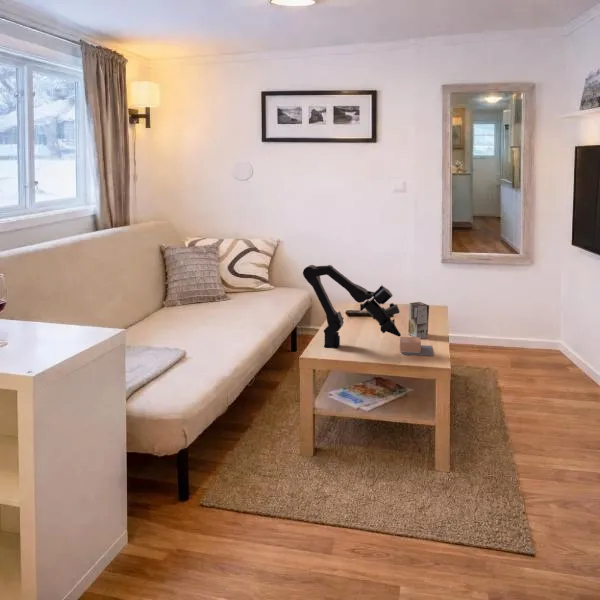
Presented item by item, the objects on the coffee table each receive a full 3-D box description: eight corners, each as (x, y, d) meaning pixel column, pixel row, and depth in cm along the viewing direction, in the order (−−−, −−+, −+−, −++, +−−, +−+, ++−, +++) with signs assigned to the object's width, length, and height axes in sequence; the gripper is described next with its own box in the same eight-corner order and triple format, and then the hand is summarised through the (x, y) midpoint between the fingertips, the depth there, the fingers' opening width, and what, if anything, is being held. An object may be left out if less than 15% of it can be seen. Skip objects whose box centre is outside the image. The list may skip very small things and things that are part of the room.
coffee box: (428, 338, 314) (429, 305, 311) (416, 339, 312) (417, 306, 309) (419, 333, 322) (420, 301, 319) (407, 334, 320) (408, 302, 317)
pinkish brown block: (400, 342, 287) (420, 343, 286) (400, 336, 297) (420, 337, 296) (399, 352, 288) (420, 352, 287) (399, 346, 298) (419, 346, 297)
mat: (403, 355, 285) (403, 354, 285) (402, 345, 301) (402, 344, 301) (433, 356, 283) (433, 355, 283) (431, 346, 299) (431, 345, 299)
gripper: (389, 303, 280) (414, 328, 281) (389, 294, 298) (412, 319, 299) (370, 320, 283) (395, 345, 284) (371, 311, 301) (395, 335, 302)
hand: (400, 335), depth 292 cm, fingers closed
